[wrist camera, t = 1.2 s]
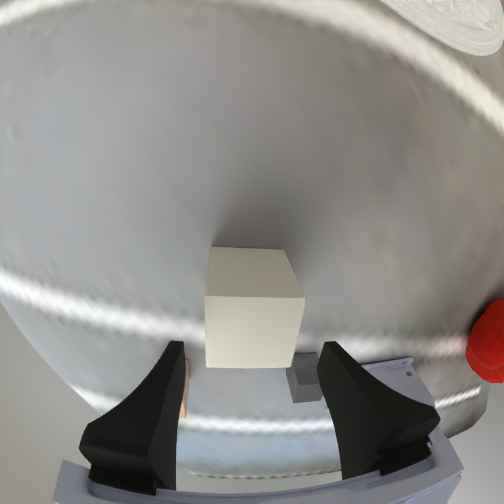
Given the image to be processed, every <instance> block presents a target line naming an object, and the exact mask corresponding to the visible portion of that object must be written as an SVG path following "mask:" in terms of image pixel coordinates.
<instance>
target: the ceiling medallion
mask: <svg viewBox="0 0 504 504" xmlns="http://www.w3.org/2000/svg"><path fill="white" fill-rule="evenodd" d="M380 1H381V2H383V3H384V4H385V5H387V6H388V7H389V8H391V9H392V10H393V11H395V12H396V13H398V14H399V15H400V16H402V17H403V18H405V19H406V20H407V21H409V22H410V23H412V24H413V25H415V26H416V27H418V28H419V29H421V30H422V31H424V32H425V33H427V34H429V35H430V36H432V37H433V38H435V39H437V40H439V41H440V42H442V43H444V44H446V45H448V46H450V47H452V48H454V49H456V50H459V51H461V52H464V53H467V54H471V55H476V56H485V55H490V54H493V53H495V52H496V51H497V50H498V49H499V48H500V47H501V45H502V43H503V40H504V14H503V9H502V6H501V3H500V0H380Z"/></svg>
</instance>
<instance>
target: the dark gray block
mask: <svg viewBox="0 0 504 504" xmlns="http://www.w3.org/2000/svg"><path fill="white" fill-rule="evenodd" d="M318 362H319V358H318V355H317V353H316V352H315V353H294V355H293V359H292V363H291V367H287V369H286V375H287V379H288V383H289V387H290V392H291V396H292V400H293V403H300V402H310V401H320V400H321V398H322V396H323V393H322V390H321V387H320V384H319V379H318V375H317V370H316V368H317V365H318Z"/></svg>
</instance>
